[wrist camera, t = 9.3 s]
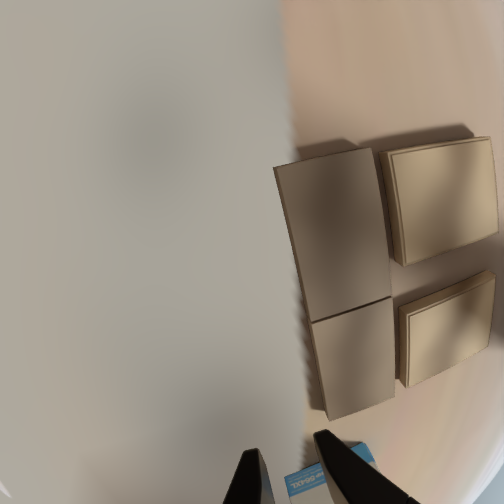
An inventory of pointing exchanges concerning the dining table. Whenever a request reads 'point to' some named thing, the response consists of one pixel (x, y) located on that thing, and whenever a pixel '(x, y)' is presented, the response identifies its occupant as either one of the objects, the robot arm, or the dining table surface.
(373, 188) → the tan wooden tile
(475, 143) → the plank front
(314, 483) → the ink box
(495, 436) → the dining table surface
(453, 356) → the plank rear
